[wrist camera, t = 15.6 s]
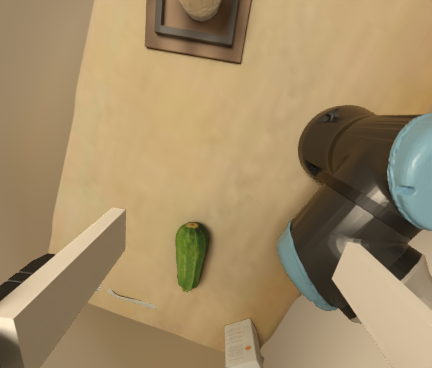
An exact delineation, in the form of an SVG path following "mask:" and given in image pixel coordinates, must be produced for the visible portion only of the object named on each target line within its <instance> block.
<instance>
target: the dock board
mask: <svg viewBox="0 0 432 368" xmlns="http://www.w3.org/2000/svg"><path fill="white" fill-rule="evenodd" d="M250 2H251V0H222V2H221V5H220V7H219V10H218V12H217V13H216V14H215V15H214V16H213V17H212V18H211V19H210V20H206V21H203V22H200V21H197V20H193V19H192V18H191V17H190V16H189V15H188V14H187V13H186V12H185V10H184V8H183V6H182V4H181V3H180V1H179V0H147V3H146V31H145V47H147V48H153V49H158V50H164V51H170V52H176V53H182V54H187V55H193V56H199V57H205V58H211V59H216V60H222V61H228V62H234V63H240V61H241V55H242V49H243V43H244V37H245V31H246V25H247V19H248V14H249V8H250Z"/></svg>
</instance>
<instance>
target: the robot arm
mask: <svg viewBox="0 0 432 368" xmlns="http://www.w3.org/2000/svg"><path fill="white" fill-rule="evenodd" d="M298 155H299V160H300V163H301V165H302V167H303V168H304V170H305V171H306V172H307V173H308V174H309V175H311V176H312V177H314V178H315V179H317V180H319V181H321V182H324V183H325V184H323V185H322V186H321V187H320V188H319V190H318V191H317V192H316V193H315V194H314V195H313V197H312V198H311V199H310V200H309V201H308V202H307V204H306V205H305V206H304V207H303V208H302V209H301V211H300V212H299V213H298V214H297V215H296V217H295V218H294V219H291V220H290V222H289V223H288V226H287V227H286V229H285V230H284V231H283V233H282V234H281V235H280V237H279V239H278V241H277V251H278V256H279V259H280V261H281V264H282V266H283V268H284V270H285V271H286V273H287V275H288V276H289V278H290V279H291V281H292V282H293V283H294V285H295V286H296V287H297V288H298V290H299V291H300V292H301V293H302V294H303V295H304V296H305V297H306V298H307V299H308V300H309V301H313V302H314V304H315V305H316V306H317V307H319V308H320V309H322V310H325V311H331V310H336V309H337V308H339V309H340V310H341V311H342V312H343V313H344V314H345V315H346V316H347V317H348V318H349V319H350V320H351V321H352V322H355V323H360V324H363V325H364V327H365V328H366V330H367V331H368V333H369V334H370V336H371V337H372V339H373V340H374V342H375V343H376V345H377V346H378V347H379V349H380V350H381V352H382V353H383V355H384V356H385V358H386V359H387V361H388V362H389V364H390V365H391V367H392V368H432V277H431V275H430V273H429V270H428V266H427V262H426V258H425V256H424V255H423V254H421V253H419V252H418V251H417V250H415V249H414V248H412V247H411V246H409V245H408V242H409V241H410V240H411V239H412V238H413V237H415V236H416V235H417V234H418V233H419V232H420V231H422V230H423V229H425V230H428V231H432V113H429V114H423V115H376V114H374V113H373V112H371V111H369V110H367V109H365V108H363V107H359V106H354V105H345V106H336V107H332V108H329V109H327V110H324V111H323V112H321V113H319V114H318V115H317V116H315V117H314V118H313V119H312V120H311V121H310V122H309V123H308V125H307V126H306V127H305V129H304V131H303V133H302V135H301V137H300V141H299V146H298ZM330 187H331V188H330ZM125 230H126V209H119V208H111V209H110V210H109V211H108V212H106V213H105V214H104V215H103V216H102V217H101V218H99V219H98V220H97V221H96V222H95V223H93V224H92V225H91V226H90V227H89V228H87V229H86V230H85V231H84V232H83V233H81V234H80V235H79V236H78V237H77V238H75V239H74V240H73V241H72V242H71V243H69V244H68V245H67V246H66V247H65V248H63V249H62V250H61V251H60V252H59V253H58V254H56V255H55V254H46V255H44V256H42V257H40V258H38V259H35V260H33V261H32V262H30V263H29V264H28V265H27V266H25V267H24V268H23V269H21V270H20V271H19V273H16V274H15V275H13V276H12V277H11V278H9V279H8V281H7V282H4V283H3V284H2V285H0V368H40V367H41V366H42V364H43V363H44V361H45V360H46V359H47V357H48V356H49V354H50V353H51V352H52V350H53V349H54V348H55V346H56V345H57V343H58V342H59V341H60V339H61V338H62V336H63V335H64V334H65V332H66V331H67V329H68V328H69V327H70V325H71V324H72V322H73V321H74V320H75V318H76V317H77V316H78V314H79V313H80V311H81V310H82V308H83V307H84V306H85V305H86V303H87V302H88V300H89V299H90V298H91V296H92V295H93V294H94V292H95V291H96V289H97V288H98V287H99V285H100V284H101V282H102V281H103V280H104V278H105V277H106V275H107V274H108V273H109V271H110V270H111V269H112V267H113V266H114V264H115V263H116V262H117V260H118V259H119V257H120V256H121V255H122V253H123V252H124V251H125ZM406 237H407V238H406ZM409 239H410V240H409Z"/></svg>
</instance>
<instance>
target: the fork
mask: <svg viewBox="0 0 432 368" xmlns="http://www.w3.org/2000/svg"><path fill="white" fill-rule="evenodd" d="M102 285H103V284H102V283H101V285H99V287H102ZM99 287H98V288H97V289H99V290H97V289H96V291H100V290H101V288H99ZM107 293H109V294H111V295H113V296H115V297H117V298H120V299H124V300H128V301H131V302H134V303H137V304H140V305H143V306H146V307H148V308H152V309H157V307H156V306H155V305H153V304H150V303H147V302H144V301H139V300H135V299H130V298H126V297H122V296H118V295H116V294H115V293H114V292H113V291H112V290H111V288H109V289H108V292H107Z"/></svg>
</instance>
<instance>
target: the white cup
mask: <svg viewBox="0 0 432 368" xmlns="http://www.w3.org/2000/svg"><path fill="white" fill-rule="evenodd" d="M179 1H180V3H181V4H182V6H183V8H184V10H185V12H186V13H187V14H188V15H189V16H190V17H191V18H192V19H193V20H197V21H200V22H203V21H206V20H210V19H211V18H212V17H213V16H214V15H215V14H216V13H217V12H218V10H219V7H220V5H221V2H222V0H179Z"/></svg>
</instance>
